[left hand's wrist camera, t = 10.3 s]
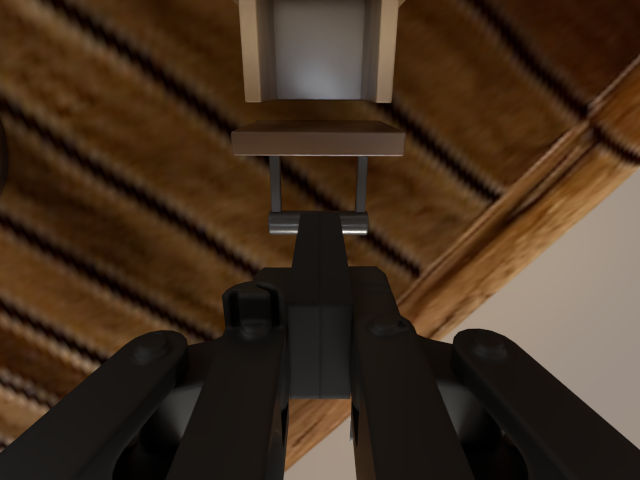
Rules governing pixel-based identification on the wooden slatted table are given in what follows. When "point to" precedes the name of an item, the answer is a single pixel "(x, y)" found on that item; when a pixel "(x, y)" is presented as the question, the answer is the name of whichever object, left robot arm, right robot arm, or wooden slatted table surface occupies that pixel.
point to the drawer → (318, 88)
